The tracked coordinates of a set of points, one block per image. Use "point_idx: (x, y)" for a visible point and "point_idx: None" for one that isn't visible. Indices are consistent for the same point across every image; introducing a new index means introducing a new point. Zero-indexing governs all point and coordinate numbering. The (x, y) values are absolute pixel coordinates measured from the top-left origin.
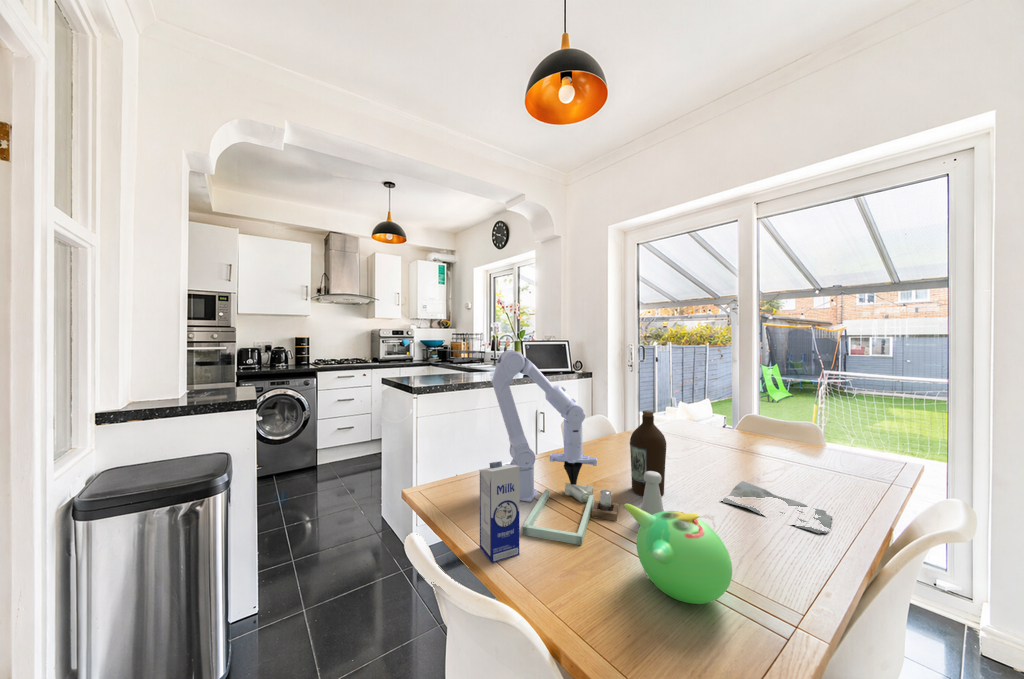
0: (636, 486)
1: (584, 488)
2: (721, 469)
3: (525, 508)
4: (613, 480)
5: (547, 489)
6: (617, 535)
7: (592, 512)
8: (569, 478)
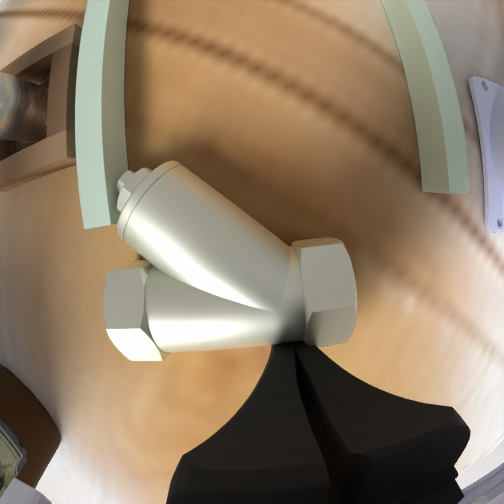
0: (3, 399)
1: (162, 291)
2: None
3: (448, 18)
4: (147, 480)
5: (459, 192)
6: (24, 5)
7: (78, 28)
8: (337, 366)
